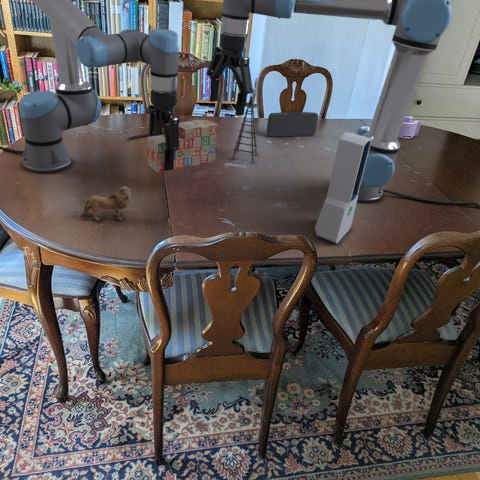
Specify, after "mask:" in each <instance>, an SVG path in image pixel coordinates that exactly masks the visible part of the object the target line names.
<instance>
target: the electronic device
mask: <svg viewBox="0 0 480 480" xmlns="http://www.w3.org/2000/svg"><path fill="white" fill-rule="evenodd" d="M371 141H372V139H371V138H368V137H364V136H360V135H357V133H353V132H349V131H345V132H343V133H342V135H341V136H340V137H339V139H338V144H337V148H336V153H335V157H334V160H333V161H334V162H333V166H332V170H331V171H332V172H331V175H330V180H329V184H328V190H327V194H326V198H325V200H324V202H323V205H322V208H321V210H320V212H319V215H318V218H317V221H316V223H315V226H314V231H315V233H316V236H317V237H318V238H321V239H323V240H325V241H328V242H331V243H334V244H336V245H337V244H338V243H339V242H340V241H341V240H342V239H343V237H344V236H345V235H346V234H347V233H348V232H349V230H350V229H351V227H352V225H353V219H354V216H355V212H356V208H357V203H358V201H357V199H358V192H359V188H360V184H361V180H362V176H363V172H364V169H365V165H366V161H367V157H368V153H369V149H370V145H371Z"/></svg>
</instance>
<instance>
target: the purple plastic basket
mask: <svg viewBox="0 0 480 480" xmlns="http://www.w3.org/2000/svg"><path fill="white" fill-rule="evenodd" d="M413 117H414V116H412V115H410V116H409V115H406V116H405V119H404V122H403V125H402V127H401V130H400V133H399V136H398V139H413V137H418V135H416V134H419V131H420V128H421V126H422V125H421V124H422V121H421V120H417V119H416V120H415V119H414V118H413ZM413 119H414V121H413ZM412 121H413V122H412ZM403 136H406V137H403ZM407 136H411V137H407Z"/></svg>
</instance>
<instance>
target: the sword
mask: <svg viewBox="0 0 480 480" xmlns="http://www.w3.org/2000/svg"><path fill="white" fill-rule="evenodd" d="M162 134H164V130H162ZM146 136H147V137H148V136H149V132H148V133H142V134H136V135H133V136H130V137H129V138H128V140H132V139H133V140H134V139H136V138H140V137H141V138H142V137H146Z"/></svg>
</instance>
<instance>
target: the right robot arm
mask: <svg viewBox="0 0 480 480" xmlns="http://www.w3.org/2000/svg"><path fill="white" fill-rule="evenodd" d="M451 4H452V3H451V1H450V0H223V1H222V14H221V22H220V32H221V33H220V34H219V35H220V37H219V46H215V47H214V51H213V56H212V58H211V61H210V63H209V66H208V68H207V70H206V76H208V77H209V79H210V83H209V84H210V85H209V89H210V91H209V102H211V103H212V102H218V101H219V93H220V83H221V80H220V76H221V75H222V74H223V72H224V71H225V69H229V70H231V72H232V73H233V75H234V79H235V83H236V85H237V88H238V93H237V95H236V96H237V97H236V104H235V115H234V116H236V117H238V116H239V117H240V116H245V111H246V110H245V108H246V107H245V105H246V102H247V100H248V95H249V94H250V95H251V93H253V92H254V91H253V89H254V86H253V82H252V75H251V69H250V61H251V60H250V57H249V56H243V52H244V51H245V50H246V45H247V36H246V35H247V34H248V28H249V19H250V15H251V14H254V15H261V16H266V17H272V18H277V19H279V20H280V19H286V20H287V19H288V20H289V19H291V18H292V17H293V16H294V14H303V15H314V16H315V15H316V16H328V17H340V18H350V19H360V20H361V19H363V20H370V21H371V20H373V21H382V23H383V24H384V25H387V26H393V27H395V29H394V32H393V35H392V39H391V42H392V44H393V46H394V51H393V54H392V57H391V61H390V64H389V66H388V70H387V73H386V76H385V79H384V82H383V85H382V88H381V92H380V95H379V98H378V101H377V104H376V107H375V110H374V112H373V113H374V114H373V117H372V119H371V123H370V126H367V125H365V126H360V127H358V129H357V130H356V134H357V135H360V136H364V137H368V138H371V139H372V141H371V145H370V149H369V153H368V157H367V161H366V165H365V169H364V172H363V176H362V180H361V184H360V188H359V192H358V199H357V202H360V203H377V202H378V201H380V200H381V199H382V198H383V195H384V193H385V194H390V195H394V196H398V197H401V198H405V199H410V200H414V201H418V202H424V203H432V204H440V205H441V204H442V205H460V206H468V205H469V206H471V205H472V206H476V207H477V208H478V209H480V204H479V202H475V201H457V200H456V201H455V200H451V201H450V200H436V199H429V198H423V197H418V196H413V195H408V194H404V193H401V192H397V191H393V190H389V189H385V188H384V186H385V185H386V184H388V183H389V182H390V181H391V180H392V178H393V177H394V174H395V170H396V169H395V168H396V166H395V163H396V160H397V157H398V154H399V151H400V149H401V144H400V142H399V138H398V136H399V133H400V130H401V127H402V125H403V122H404V119H405V116H407V113H408V111H409V108H410V105H411V102H412V99H413V96H414V94H415V91H416V89H417V86H418V82H419V80H420V77H421V74H422V71H423V69H424V66H425V63H426V61H427V58H428V56H430V55H431V54H432V53H434V52H435V51H436V49H437V48H438V45H439V42H440V40H441V37H442V35H443V34H444V33H445V31H446V30H447V29H448V27H449V25H450V22H451V19H452V13H453V11H452V5H451ZM243 89H244V90H243Z"/></svg>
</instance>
